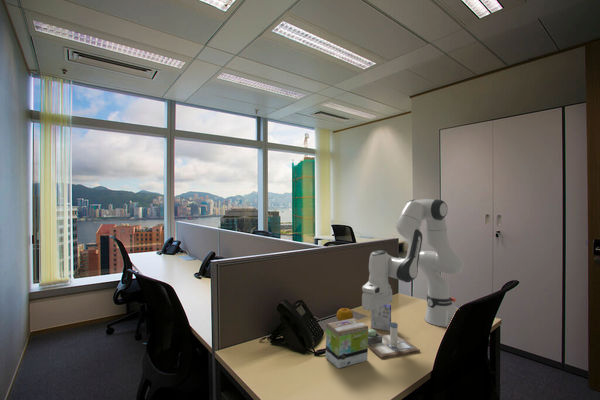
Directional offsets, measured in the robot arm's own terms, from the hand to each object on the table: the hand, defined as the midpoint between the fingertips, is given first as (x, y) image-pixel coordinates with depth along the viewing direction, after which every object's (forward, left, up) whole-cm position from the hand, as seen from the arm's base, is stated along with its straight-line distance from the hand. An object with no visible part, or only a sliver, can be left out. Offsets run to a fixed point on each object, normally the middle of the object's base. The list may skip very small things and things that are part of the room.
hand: (377, 315), depth 133 cm
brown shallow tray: (-5, +2, -14) cm, 14 cm away
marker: (-5, +6, -12) cm, 14 cm away
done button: (+1, -3, -11) cm, 12 cm away
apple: (+4, -25, -14) cm, 29 cm away
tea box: (+19, +7, -14) cm, 25 cm away
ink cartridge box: (-13, -16, -14) cm, 25 cm away
